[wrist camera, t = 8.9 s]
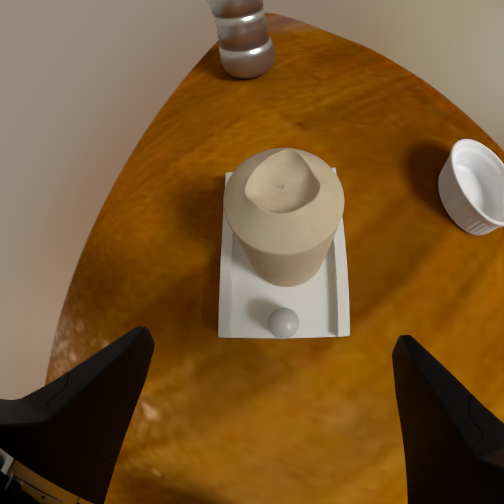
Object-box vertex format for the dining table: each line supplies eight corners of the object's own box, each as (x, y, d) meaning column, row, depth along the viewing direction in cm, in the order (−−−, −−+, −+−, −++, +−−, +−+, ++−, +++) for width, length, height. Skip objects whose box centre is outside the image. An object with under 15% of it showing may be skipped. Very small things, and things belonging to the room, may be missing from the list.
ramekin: (454, 150, 22) (470, 126, 18) (504, 209, 19) (526, 192, 15) (417, 188, 21) (435, 163, 17) (475, 260, 18) (502, 245, 14)
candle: (267, 207, 21) (247, 117, 12) (333, 231, 20) (362, 149, 10) (238, 271, 20) (191, 215, 11) (308, 299, 19) (326, 265, 9)
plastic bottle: (215, 73, 29) (171, -56, 10) (256, 53, 30) (230, -70, 11) (243, 91, 27) (202, -64, 8) (287, 69, 28) (270, -73, 9)
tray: (344, 335, 19) (353, 336, 16) (224, 336, 20) (213, 337, 17) (332, 179, 22) (337, 159, 19) (230, 183, 24) (222, 164, 21)
